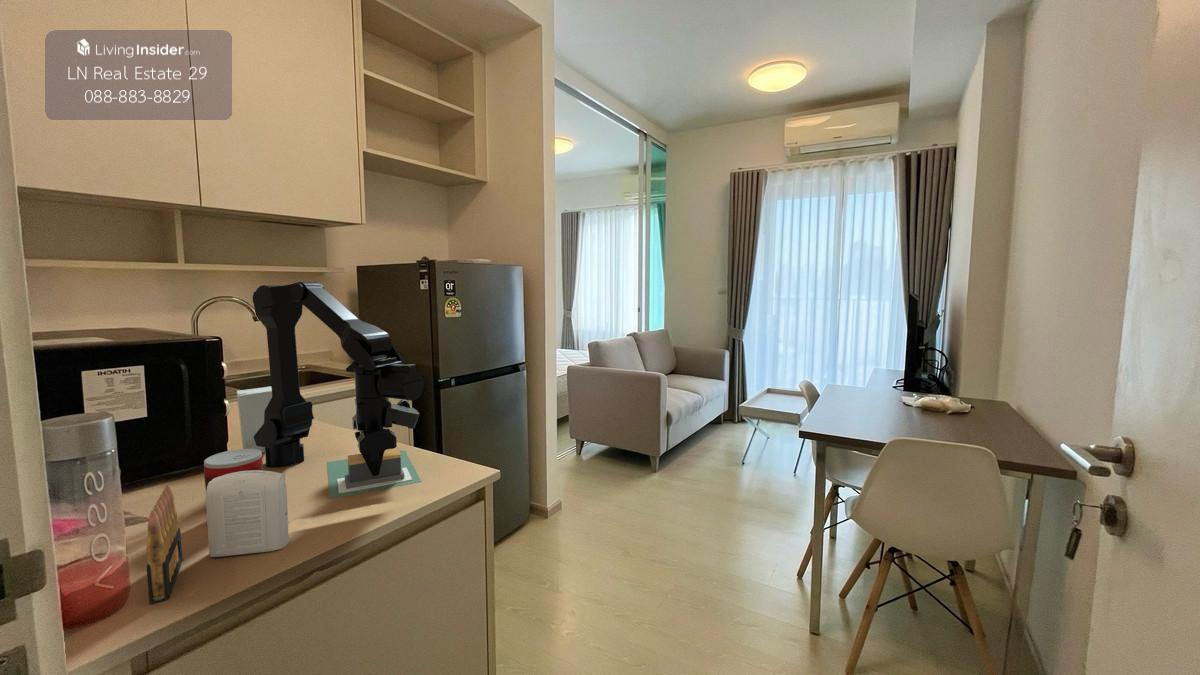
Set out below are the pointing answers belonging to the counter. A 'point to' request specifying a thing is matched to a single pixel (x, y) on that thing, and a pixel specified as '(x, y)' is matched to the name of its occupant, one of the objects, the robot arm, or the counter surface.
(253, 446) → the skincare box
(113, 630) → the counter surface
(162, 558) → the ammunition clip
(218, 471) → the canned food
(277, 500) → the photo printer
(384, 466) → the yellow and grey block
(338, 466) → the board
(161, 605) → the counter surface
